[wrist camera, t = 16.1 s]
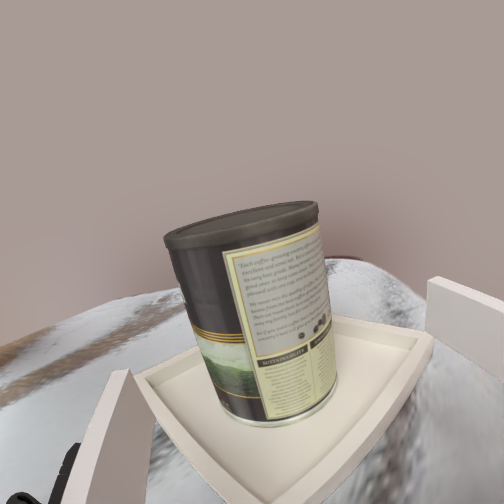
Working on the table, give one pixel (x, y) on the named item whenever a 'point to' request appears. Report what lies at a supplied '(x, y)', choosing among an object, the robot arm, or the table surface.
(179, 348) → the table surface
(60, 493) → the robot arm
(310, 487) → the serving tray
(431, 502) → the table surface
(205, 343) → the coffee can
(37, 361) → the table surface
